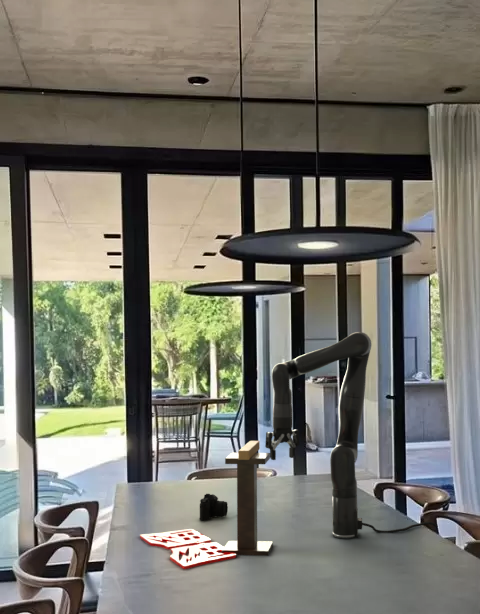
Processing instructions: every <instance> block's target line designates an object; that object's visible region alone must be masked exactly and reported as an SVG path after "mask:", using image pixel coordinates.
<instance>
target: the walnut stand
mask: <svg viewBox="0 0 480 614" xmlns="http://www.w3.org/2000/svg"><path fill="white" fill-rule="evenodd" d="M269 460H271V458H270V452H256V453H255V454H254V455H253V456H252V457H251V458H250V459H249V460H238V452H231V453H230V454H228V455H227V456H226V457H225V458H224V464H225V465H236V532H237V533H236V534H237V535H236V536H237V537H236V540H228V541H227V542H226V544H225V545H224V548H223V549H222V553H225V552H234V553H235V554H236V556H258V557H259V556H260V557H261V556H264V557H265V556H268V557H269V555H270V553H271V551H272V549H273V547H274V541H271V540H270V541H269V540H266V541H265V540H258V465H266V464H267V463H268V461H269Z"/></svg>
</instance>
